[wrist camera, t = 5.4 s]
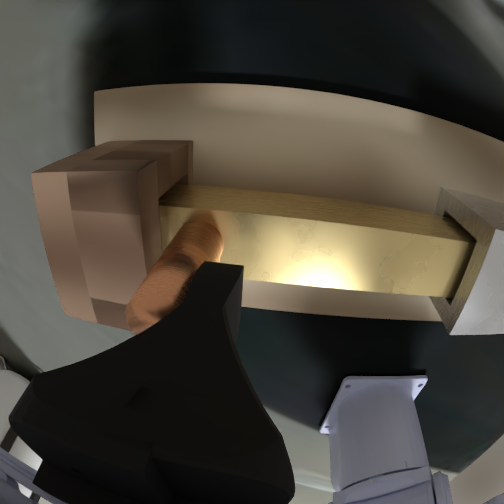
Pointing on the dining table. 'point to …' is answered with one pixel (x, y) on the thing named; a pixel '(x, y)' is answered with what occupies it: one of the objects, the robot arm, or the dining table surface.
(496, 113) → the dining table surface
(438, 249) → the gold square bar
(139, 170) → the walnut socket
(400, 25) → the dining table surface
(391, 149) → the birch board
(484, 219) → the steel block
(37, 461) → the coffee press
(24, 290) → the dining table surface
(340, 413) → the robot arm
